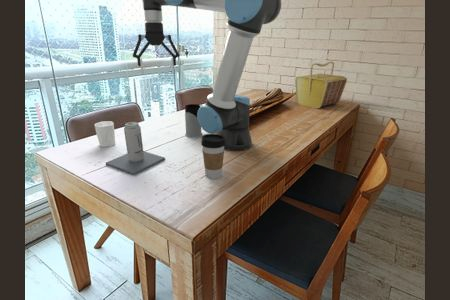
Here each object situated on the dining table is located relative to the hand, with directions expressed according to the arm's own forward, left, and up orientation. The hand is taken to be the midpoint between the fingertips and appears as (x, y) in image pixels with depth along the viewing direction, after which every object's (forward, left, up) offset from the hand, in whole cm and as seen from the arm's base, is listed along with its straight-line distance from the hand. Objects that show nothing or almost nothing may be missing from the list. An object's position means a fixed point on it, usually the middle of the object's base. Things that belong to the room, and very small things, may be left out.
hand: (158, 73), depth 124 cm
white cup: (+14, +22, -31) cm, 40 cm away
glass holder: (-11, -13, -31) cm, 35 cm away
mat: (-12, +28, -31) cm, 43 cm away
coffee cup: (-44, +20, -31) cm, 57 cm away
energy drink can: (-12, +28, -30) cm, 43 cm away
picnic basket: (-47, -114, -31) cm, 127 cm away
